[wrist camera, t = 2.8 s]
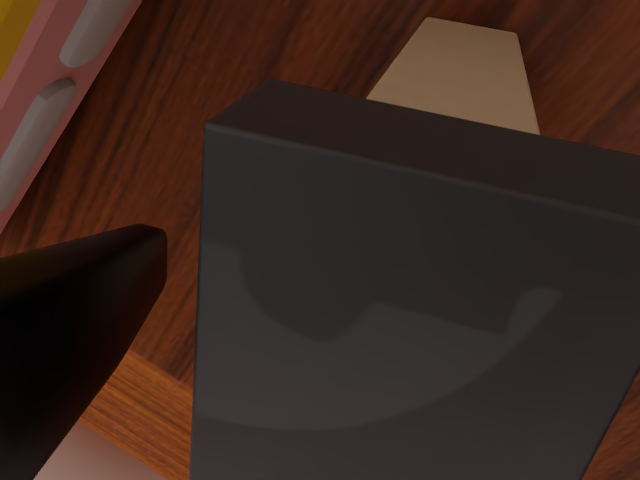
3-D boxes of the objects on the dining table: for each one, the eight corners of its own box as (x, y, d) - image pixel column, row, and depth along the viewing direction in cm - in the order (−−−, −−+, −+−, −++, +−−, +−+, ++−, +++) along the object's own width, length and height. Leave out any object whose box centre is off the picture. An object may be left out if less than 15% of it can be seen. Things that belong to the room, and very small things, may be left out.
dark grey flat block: (658, 158, 6) (715, 237, 4) (483, 549, 9) (480, 671, 8) (268, 75, 7) (201, 121, 5) (232, 468, 10) (183, 567, 8)
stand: (518, 32, 18) (561, 211, 7) (473, 184, 20) (451, 502, 9) (425, 16, 18) (318, 155, 7) (393, 166, 21) (276, 448, 9)
